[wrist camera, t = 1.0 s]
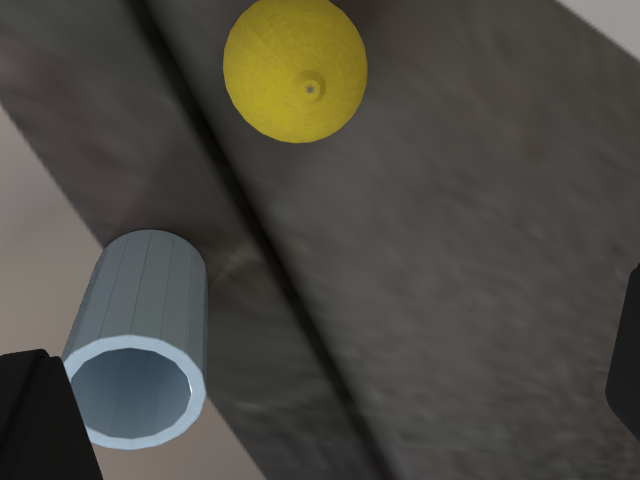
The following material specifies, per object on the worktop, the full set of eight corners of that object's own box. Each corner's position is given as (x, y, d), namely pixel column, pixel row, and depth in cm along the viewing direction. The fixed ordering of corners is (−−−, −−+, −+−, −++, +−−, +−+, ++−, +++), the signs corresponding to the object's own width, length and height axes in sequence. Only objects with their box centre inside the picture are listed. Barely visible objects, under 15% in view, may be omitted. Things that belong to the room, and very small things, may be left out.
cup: (83, 237, 28) (32, 349, 20) (197, 222, 29) (192, 324, 21) (110, 329, 31) (74, 460, 23) (214, 313, 31) (215, 436, 23)
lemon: (365, 27, 26) (422, 56, 19) (305, 133, 28) (337, 195, 21) (257, -42, 24) (276, -38, 17) (200, 77, 26) (195, 125, 19)
